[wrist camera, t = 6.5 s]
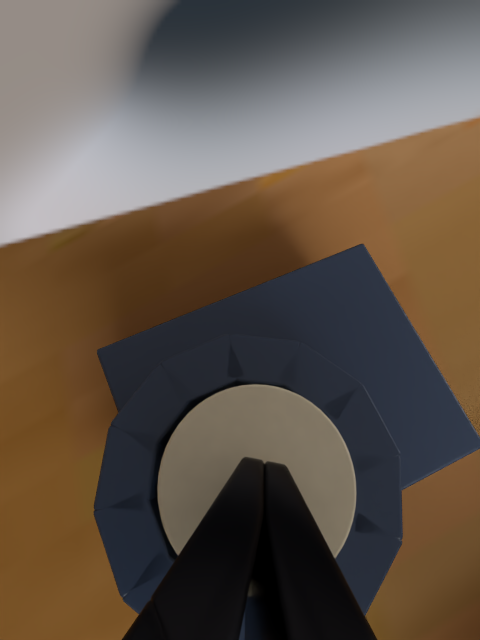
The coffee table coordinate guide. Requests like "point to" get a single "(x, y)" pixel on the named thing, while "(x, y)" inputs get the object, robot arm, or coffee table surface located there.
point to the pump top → (261, 443)
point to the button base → (291, 374)
